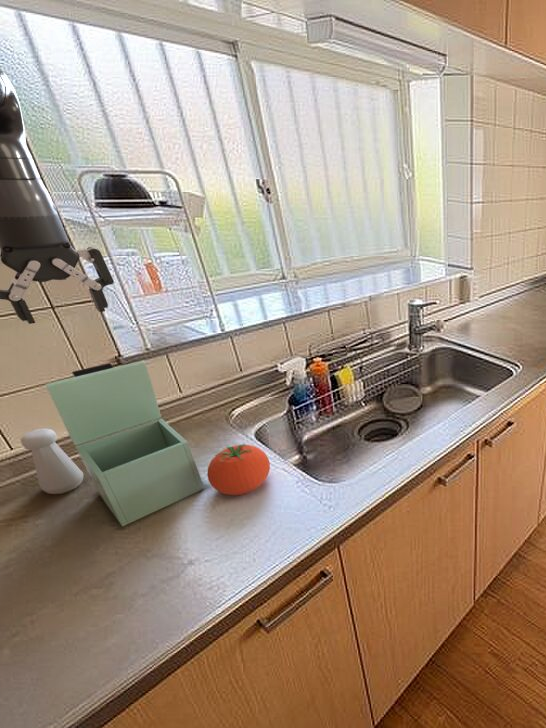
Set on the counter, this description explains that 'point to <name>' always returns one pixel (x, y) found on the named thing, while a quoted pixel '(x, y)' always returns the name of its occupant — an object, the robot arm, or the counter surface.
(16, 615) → the counter surface
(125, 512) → the mint green box
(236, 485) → the tomato
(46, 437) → the salt shaker
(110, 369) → the green box lid
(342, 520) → the counter surface
